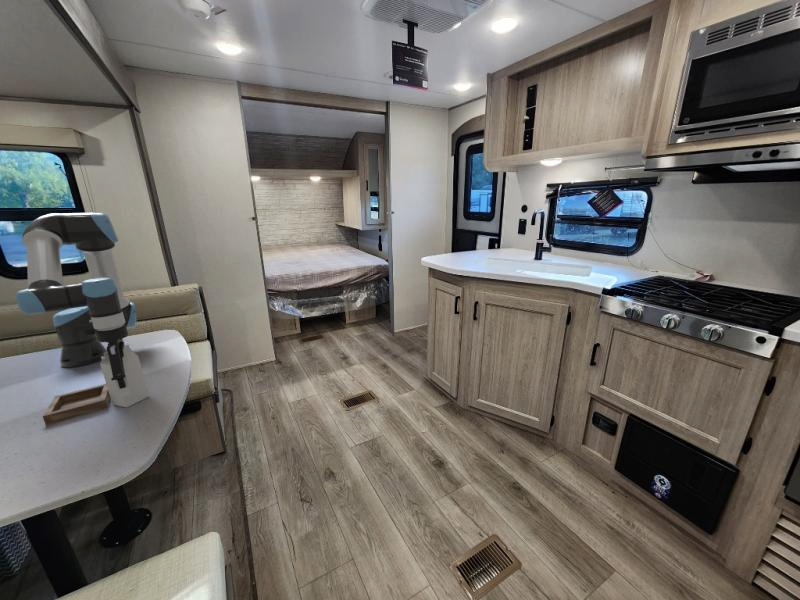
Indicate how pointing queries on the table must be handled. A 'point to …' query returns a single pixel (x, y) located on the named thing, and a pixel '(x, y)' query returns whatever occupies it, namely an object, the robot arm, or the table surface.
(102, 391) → the square wooden tray
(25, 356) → the table surface
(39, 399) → the table surface
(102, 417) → the table surface
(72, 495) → the table surface
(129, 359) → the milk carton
